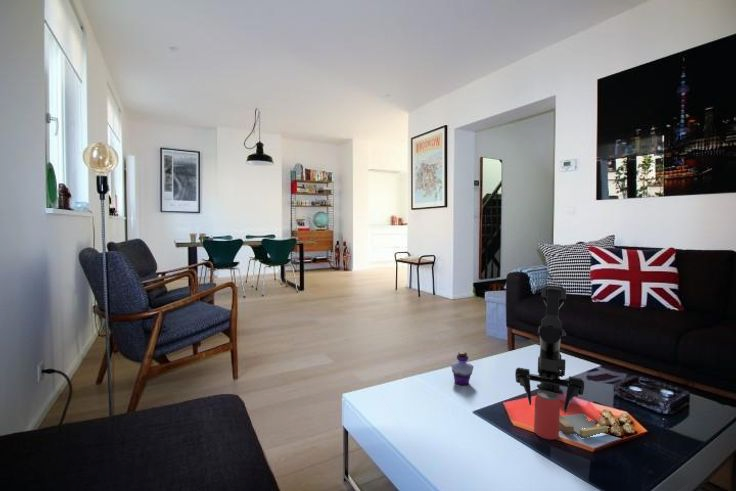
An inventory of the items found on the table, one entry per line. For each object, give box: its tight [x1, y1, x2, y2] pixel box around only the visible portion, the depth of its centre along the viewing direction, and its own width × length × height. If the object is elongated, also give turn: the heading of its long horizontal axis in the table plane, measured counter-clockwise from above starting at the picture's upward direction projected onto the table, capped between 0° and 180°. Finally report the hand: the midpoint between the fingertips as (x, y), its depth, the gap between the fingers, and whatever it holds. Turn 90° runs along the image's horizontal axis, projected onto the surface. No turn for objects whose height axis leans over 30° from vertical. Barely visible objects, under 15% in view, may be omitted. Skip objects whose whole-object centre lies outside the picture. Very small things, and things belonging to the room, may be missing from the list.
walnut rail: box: [559, 414, 575, 436], centre depth 115 cm, size 12×2×2 cm, turn 4°
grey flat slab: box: [561, 413, 610, 439], centre depth 114 cm, size 11×11×2 cm
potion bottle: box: [450, 351, 474, 387], centre depth 144 cm, size 9×9×12 cm
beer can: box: [533, 389, 561, 440], centre depth 109 cm, size 7×7×12 cm
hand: (547, 408), depth 109 cm, fingers open, 9 cm apart
